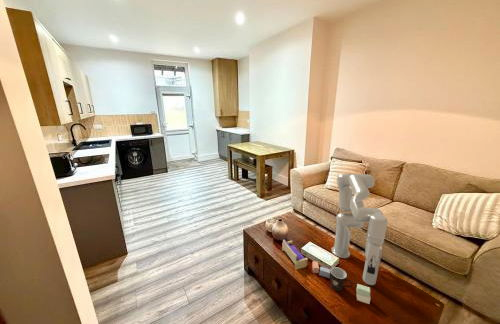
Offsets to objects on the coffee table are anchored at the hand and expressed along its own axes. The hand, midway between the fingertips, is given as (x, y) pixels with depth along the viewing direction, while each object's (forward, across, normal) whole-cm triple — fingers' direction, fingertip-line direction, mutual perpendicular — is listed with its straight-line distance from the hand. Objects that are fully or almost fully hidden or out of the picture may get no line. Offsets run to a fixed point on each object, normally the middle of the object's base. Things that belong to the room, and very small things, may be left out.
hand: (369, 266), depth 106 cm
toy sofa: (+23, -16, -43) cm, 51 cm away
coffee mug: (+22, -2, -13) cm, 26 cm away
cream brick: (+22, 0, 0) cm, 22 cm away
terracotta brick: (+22, -11, -27) cm, 37 cm away
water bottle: (+22, -17, +4) cm, 28 cm away
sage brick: (+18, 0, -1) cm, 18 cm away
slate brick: (+22, -9, -21) cm, 32 cm away
